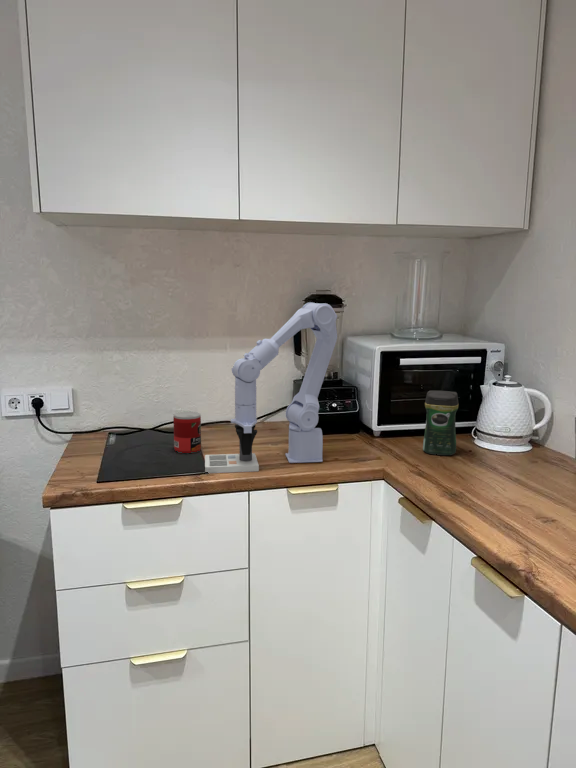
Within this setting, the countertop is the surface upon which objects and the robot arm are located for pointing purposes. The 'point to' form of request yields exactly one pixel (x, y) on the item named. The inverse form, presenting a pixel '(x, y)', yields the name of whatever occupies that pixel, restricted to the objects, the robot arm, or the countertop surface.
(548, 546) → the countertop surface
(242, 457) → the plug
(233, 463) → the socket board
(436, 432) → the coffee jar
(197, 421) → the canned food
